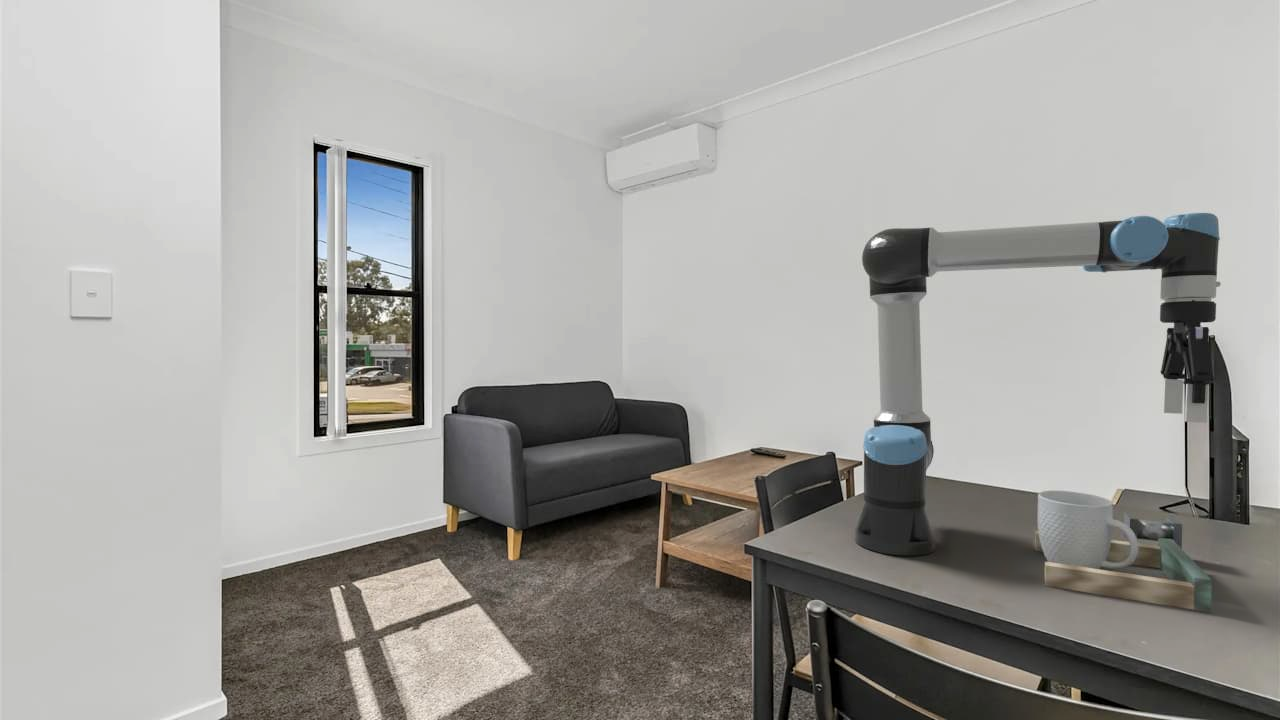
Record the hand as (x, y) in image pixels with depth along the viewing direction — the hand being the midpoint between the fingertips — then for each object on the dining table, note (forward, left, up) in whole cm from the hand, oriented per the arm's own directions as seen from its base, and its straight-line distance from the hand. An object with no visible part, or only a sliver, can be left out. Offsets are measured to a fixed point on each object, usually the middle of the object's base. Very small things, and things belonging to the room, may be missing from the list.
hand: (1183, 417), depth 111 cm
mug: (-17, -13, -27) cm, 34 cm away
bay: (-12, -13, -27) cm, 32 cm away
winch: (-4, +2, -27) cm, 28 cm away
